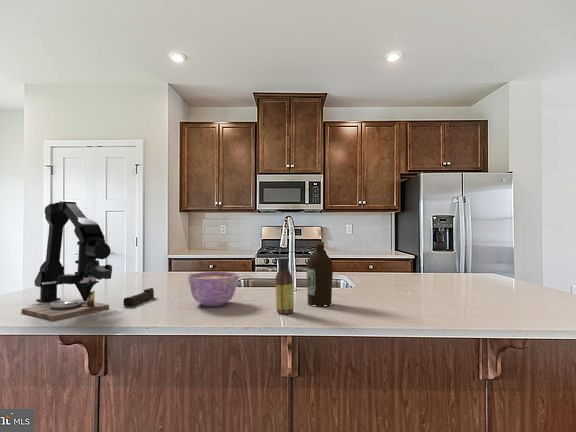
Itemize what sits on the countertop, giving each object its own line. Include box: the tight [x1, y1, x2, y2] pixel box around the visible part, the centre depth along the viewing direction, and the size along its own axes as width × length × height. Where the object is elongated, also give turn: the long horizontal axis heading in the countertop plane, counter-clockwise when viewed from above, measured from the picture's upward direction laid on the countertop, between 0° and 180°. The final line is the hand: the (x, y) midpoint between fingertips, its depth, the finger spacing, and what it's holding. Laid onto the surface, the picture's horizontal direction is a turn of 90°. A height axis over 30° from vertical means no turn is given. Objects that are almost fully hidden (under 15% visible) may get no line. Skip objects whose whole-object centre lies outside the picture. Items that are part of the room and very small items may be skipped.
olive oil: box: [305, 241, 334, 306], centre depth 146 cm, size 11×11×25 cm
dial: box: [49, 290, 96, 309], centre depth 133 cm, size 14×10×5 cm
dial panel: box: [21, 298, 110, 322], centre depth 132 cm, size 20×20×2 cm
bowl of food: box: [187, 271, 240, 307], centre depth 145 cm, size 20×20×12 cm
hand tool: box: [123, 287, 155, 308], centre depth 148 cm, size 19×4×5 cm, turn 168°
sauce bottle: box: [275, 257, 294, 315], centre depth 132 cm, size 6×6×20 cm
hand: (85, 301), depth 132 cm, fingers closed
